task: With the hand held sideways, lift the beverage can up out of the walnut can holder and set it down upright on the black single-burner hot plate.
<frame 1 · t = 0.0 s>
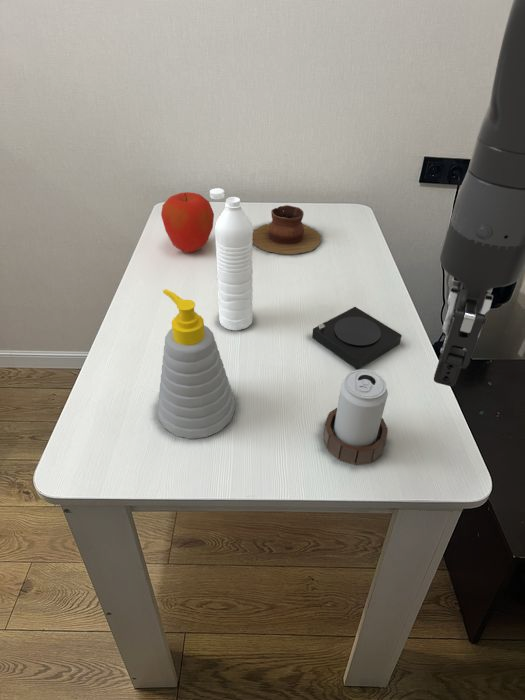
hand: (447, 358, 55), 22 cm above the table, tool pointing down, fingers open, 8 cm apart
water bottle: (232, 319, 97), on the table
apple: (190, 249, 118), on the table
can holder: (353, 439, 74), on the table
soap bottle: (196, 409, 78), on the table
hot plate: (355, 340, 92), on the table
beverage can: (353, 440, 74), resting in can holder
ceramic pot: (286, 238, 123), on the table
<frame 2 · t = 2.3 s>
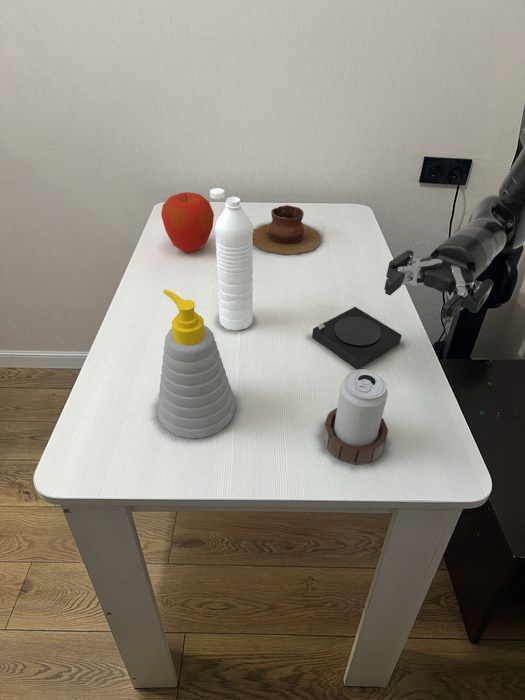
hand: (415, 300, 68), 20 cm above the table, tool horizontal, fingers open, 8 cm apart
nothing on the table moved.
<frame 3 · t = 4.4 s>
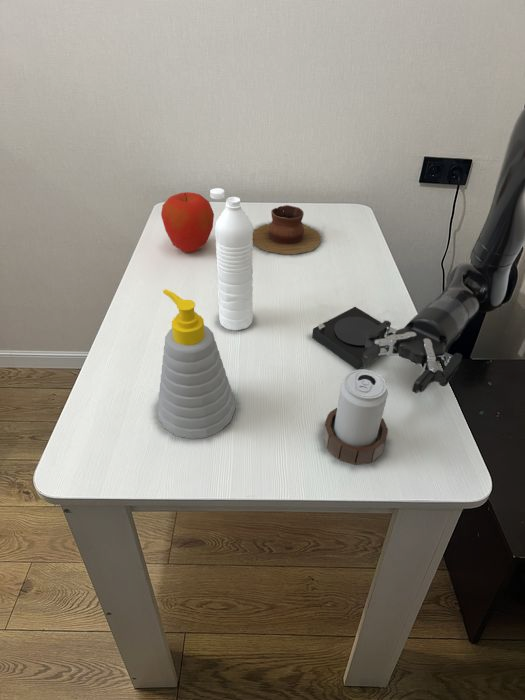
hand: (389, 375, 74), 8 cm above the table, tool horizontal, fingers open, 8 cm apart
nothing on the table moved.
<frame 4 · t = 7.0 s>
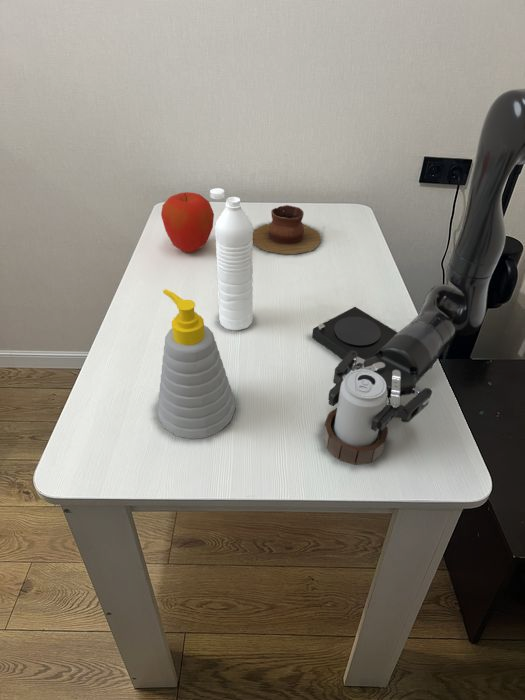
hand: (352, 413, 67), 8 cm above the table, tool horizontal, fingers closed on beverage can, 6 cm apart
beverage can: (353, 440, 74), resting in can holder, touching gripper
everything else where it was.
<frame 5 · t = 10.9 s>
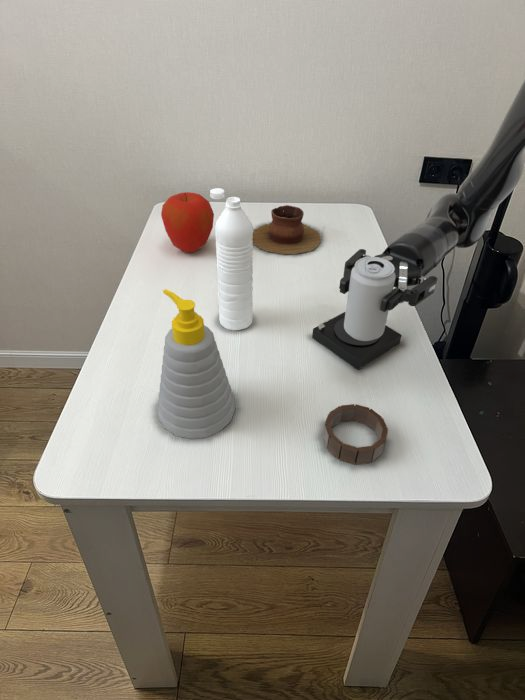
hand: (362, 296, 72), 18 cm above the table, tool horizontal, fingers closed on beverage can, 6 cm apart
beverage can: (363, 332, 78), point 10 cm above the table, touching gripper
everything else where it was.
when the fingers open (10 cm above the table, at t = 14.8 s): beverage can stays where it is, resting on hot plate.
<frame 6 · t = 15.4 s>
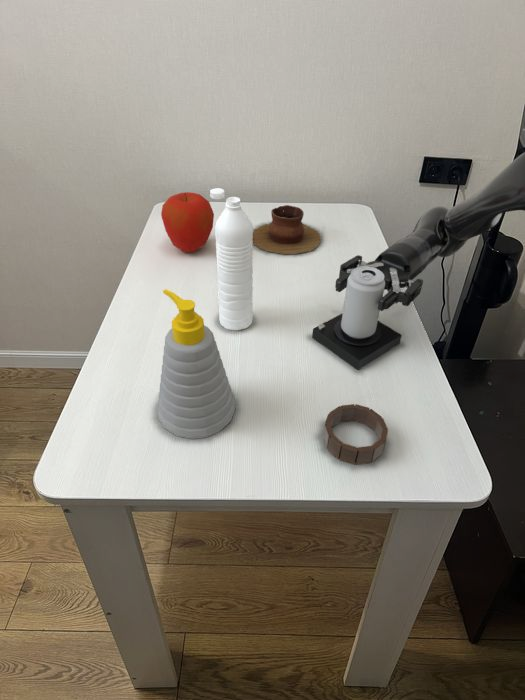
hand: (358, 296, 84), 11 cm above the table, tool horizontal, fingers open, 8 cm apart
beverage can: (357, 331, 91), point 2 cm above the table, touching hot plate
everything else where it was.
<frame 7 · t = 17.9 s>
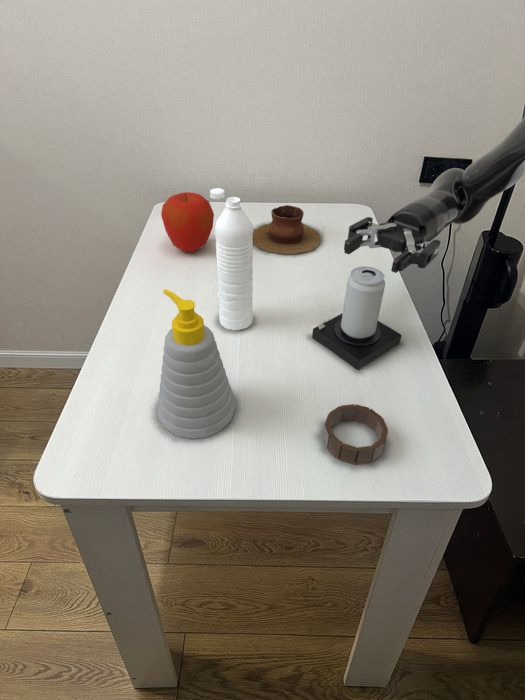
hand: (369, 257, 76), 20 cm above the table, tool horizontal, fingers open, 8 cm apart
nothing on the table moved.
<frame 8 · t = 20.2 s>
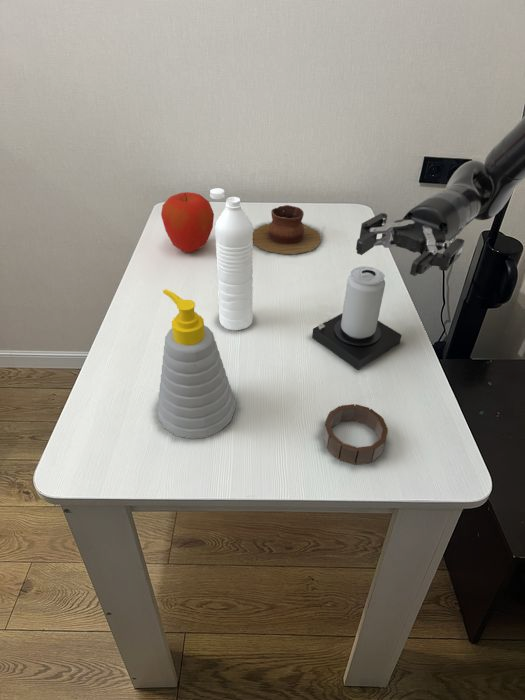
hand: (385, 258, 68), 24 cm above the table, tool horizontal, fingers open, 8 cm apart
nothing on the table moved.
at the end: beverage can 0.1 cm off-centre on the hot plate, point 2.3 cm above the hot plate's base; beverage can tilted 0°; the gripper is holding nothing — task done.
